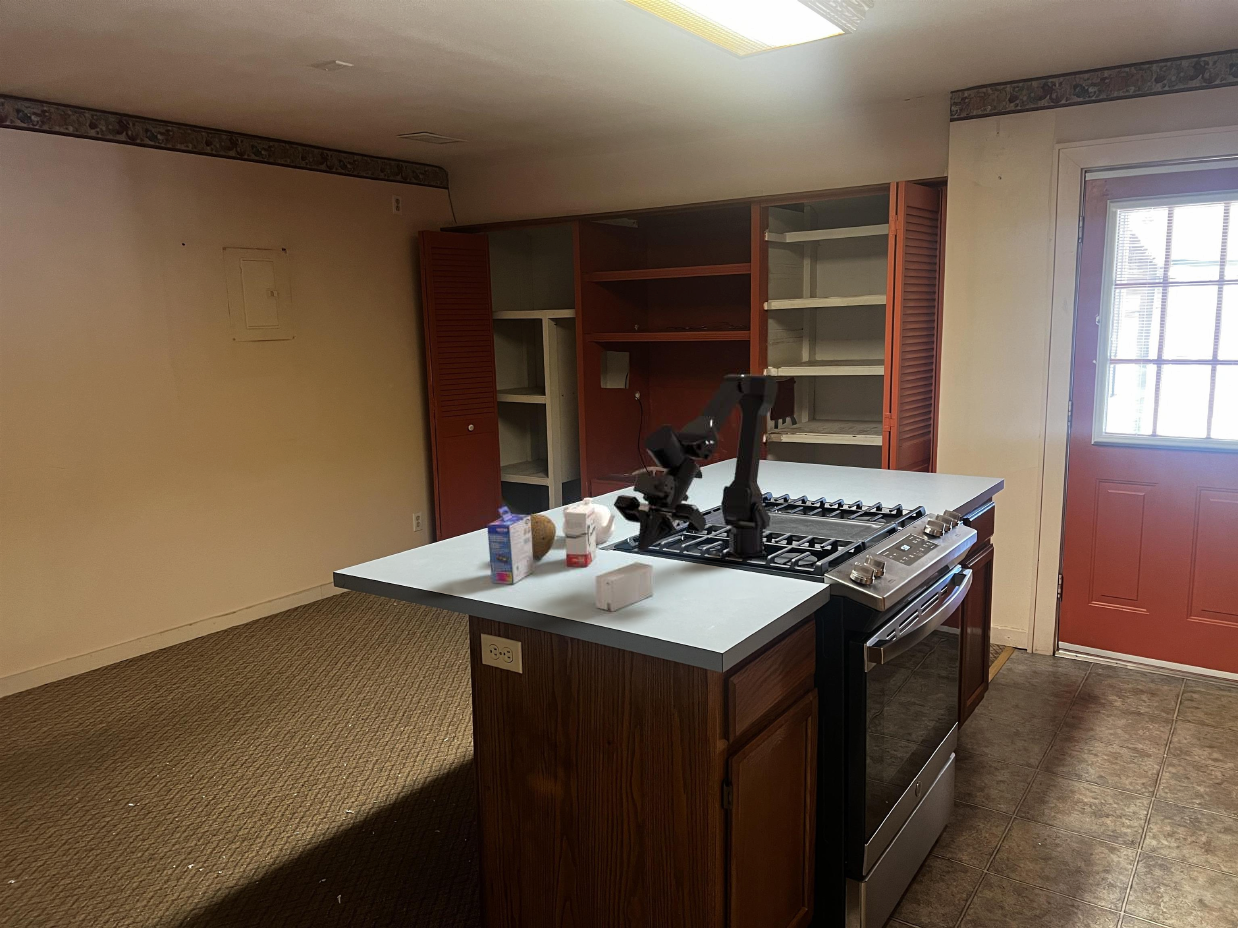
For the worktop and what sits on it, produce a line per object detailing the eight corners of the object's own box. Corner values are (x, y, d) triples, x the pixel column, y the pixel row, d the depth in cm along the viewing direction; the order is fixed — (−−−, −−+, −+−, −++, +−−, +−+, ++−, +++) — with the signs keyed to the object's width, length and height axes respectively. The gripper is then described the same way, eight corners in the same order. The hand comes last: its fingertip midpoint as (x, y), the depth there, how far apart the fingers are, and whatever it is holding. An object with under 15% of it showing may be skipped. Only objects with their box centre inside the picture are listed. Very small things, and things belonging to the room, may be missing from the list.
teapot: (637, 543, 204) (636, 500, 203) (595, 552, 196) (594, 508, 195) (585, 529, 219) (583, 489, 218) (544, 537, 212) (543, 496, 210)
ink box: (587, 567, 185) (586, 512, 183) (565, 566, 186) (563, 512, 184) (597, 556, 193) (595, 504, 191) (575, 556, 194) (573, 504, 192)
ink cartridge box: (510, 569, 184) (507, 502, 182) (534, 571, 182) (532, 503, 180) (489, 583, 175) (485, 512, 173) (514, 585, 173) (510, 513, 171)
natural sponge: (522, 565, 187) (520, 520, 185) (510, 556, 195) (508, 512, 193) (562, 560, 190) (560, 515, 189) (548, 551, 199) (547, 508, 197)
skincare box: (636, 561, 166) (593, 574, 157) (654, 564, 163) (611, 578, 154) (636, 592, 167) (593, 607, 158) (655, 596, 164) (612, 612, 155)
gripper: (618, 454, 171) (581, 519, 164) (696, 462, 159) (660, 532, 152) (644, 487, 178) (610, 551, 171) (721, 497, 166) (687, 566, 159)
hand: (640, 550), depth 163 cm, fingers closed
